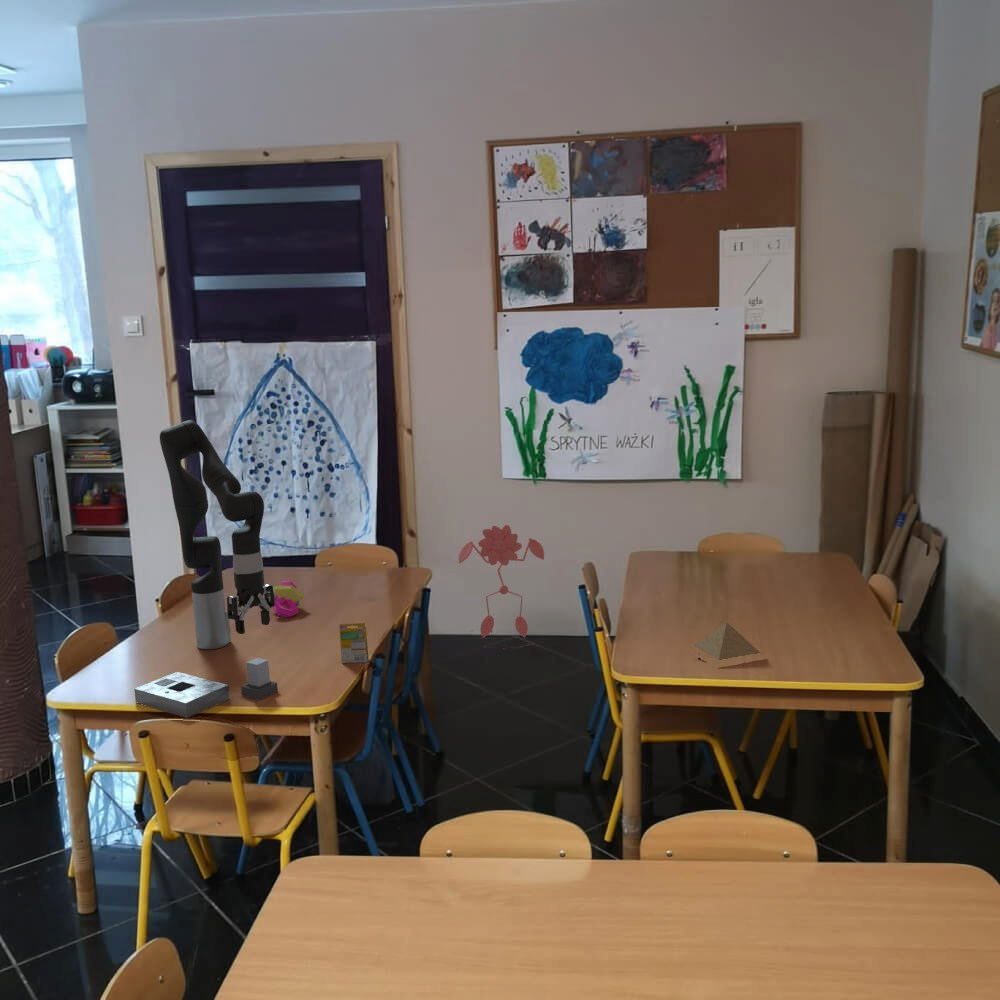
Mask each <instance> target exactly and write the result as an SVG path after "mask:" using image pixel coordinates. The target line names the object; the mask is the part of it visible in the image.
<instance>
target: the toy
mask: <svg viewBox="0 0 1000 1000" xmlns="http://www.w3.org/2000/svg"><path fill="white" fill-rule="evenodd" d="M273 592H274V600H275V606H274V607H271V608H272V609H273V611H274V612H275V614H276V615H279V616H281V617H283V618H290V617H292V616H294V615H296V614H298V613H299V612H300V611H299V608H300V605H301V603H302V600H303V598H304V596H305V595H304V594H303V593H302V592H301V591H299V590H298V589H297V585H296V584H294V583H293V581H291V580H285V581H284V580H283V581H282V582H281V583H280V585H274V586H273ZM269 600H270V599H269Z"/></svg>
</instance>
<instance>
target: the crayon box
mask: <svg viewBox="0 0 1000 1000" xmlns="http://www.w3.org/2000/svg"><path fill="white" fill-rule="evenodd" d="M365 624H366V623H365V622H362V623H361V622H360V623H359V622H358V623H343V624H339V638H340V652H341V663H342V664H343V665H344V664H354V663H355V664H357V663H368V662H369V650H368V637H367V635H368V634H367V626H366V625H365ZM351 626H352V627H351Z"/></svg>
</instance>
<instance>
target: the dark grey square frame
mask: <svg viewBox="0 0 1000 1000" xmlns="http://www.w3.org/2000/svg"><path fill="white" fill-rule="evenodd" d="M240 690H241V696H243V695H244V696H243V697H247V696H248V697H247V698H251V699H255V700H258V701H260V700H263V699H265V698H267V697H268V696H271V695H273V693H274V694H276V693H278V691H279V689H278V682H276V681H273V680H270V685H268V686H265V687H263V688H261V689H255V688H251V687H248V682H247V683H245V684H243V685H241V687H240ZM275 692H276V693H275Z"/></svg>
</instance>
